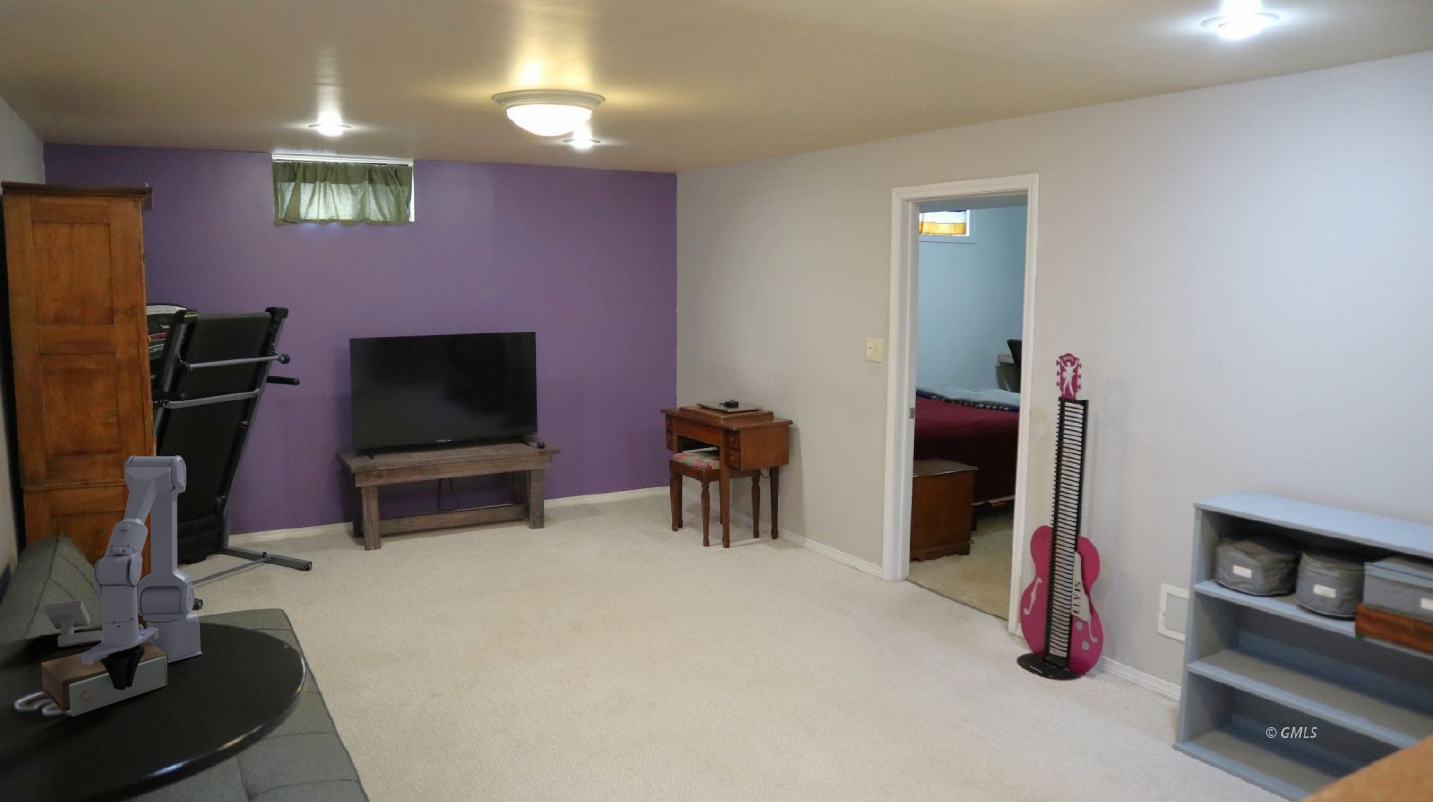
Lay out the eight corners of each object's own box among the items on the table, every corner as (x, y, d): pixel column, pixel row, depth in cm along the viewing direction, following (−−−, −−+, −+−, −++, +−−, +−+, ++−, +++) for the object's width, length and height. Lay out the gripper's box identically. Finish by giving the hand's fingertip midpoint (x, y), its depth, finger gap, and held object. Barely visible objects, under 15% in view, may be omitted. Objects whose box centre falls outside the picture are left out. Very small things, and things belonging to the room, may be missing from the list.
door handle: (55, 658, 216) (43, 642, 199) (54, 623, 218) (42, 604, 202) (146, 644, 224) (141, 628, 208) (144, 610, 227) (140, 591, 211)
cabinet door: (165, 683, 191) (164, 655, 190) (171, 685, 190) (169, 657, 189) (70, 714, 176) (68, 684, 176) (75, 717, 175) (74, 687, 174)
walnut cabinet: (145, 665, 199) (144, 638, 198) (168, 683, 191) (167, 654, 191) (43, 692, 185) (41, 662, 185) (63, 711, 178) (61, 681, 177)
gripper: (138, 603, 187) (140, 669, 189) (67, 627, 174) (71, 699, 175) (165, 608, 185) (168, 675, 187) (96, 633, 172) (99, 705, 173)
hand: (123, 687), depth 181 cm, fingers closed
